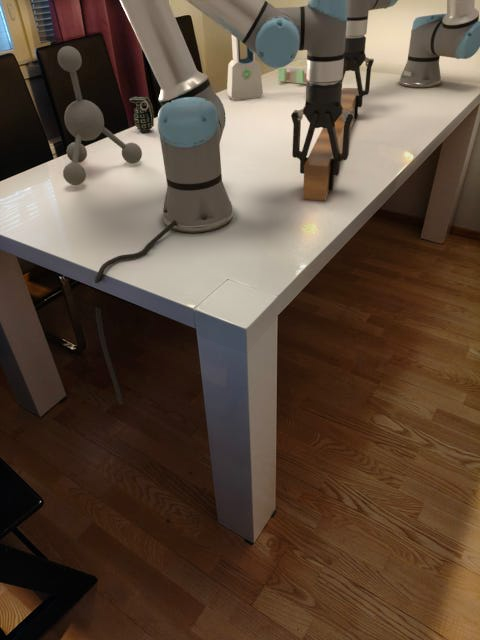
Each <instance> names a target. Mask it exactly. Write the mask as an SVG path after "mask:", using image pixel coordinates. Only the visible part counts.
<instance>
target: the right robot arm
mask: <svg viewBox="0 0 480 640" xmlns="http://www.w3.org/2000/svg"><path fill="white" fill-rule="evenodd" d="M398 1H399V0H347V20H348V21H347V28H346V40H345V51H344V66H343V78H342V79H341V80H340V81H341V83H342V84H343V82H344V78H345V75H346V72H350V71H352V72H354V75H355V82H356V88H358V95H357V97H356V105H355V116H354V120H357V119H358V116H359V115H358V114H359V108H362V106H363V100H364V99H363V98H364V96H368V95H369V94H370V87H371V86H370V85H371V76H372V75H371V74H372V67H373V64H374V61H375V60H374V58H369V57H367V55H366V44H367V43H366V41H367V37H366V35H367V31H368V22H369V12H370V11H375V10H380V9H381V10H383V9H385V10H386V9H387V8H391V7H393V6H395V5H396V4H397V3H398ZM475 3H476V0H446V13H437V14H429V15H421V16H418V17H416V18H415V19H414V20H413V22H412V27H411V30H410V37H409V39H410V40H409V47H408V54H407V60H406V63H405V65H404V68H403V70H402V72H401V75H400V77H399V84H400V85H401V86H404V87H409V88H434V87H437V86H439V85H440V84H441V80H442V76H441V69H440V68H441V67H440V57H445V58H450V59H451V58H452V59H455V60H467V59H471V58H472V57H473V56H474V55H475V54H476V53H477V52H478V51H479V49H480V20H479V19H480V12H479V10H478V9H477V8H476V7H475V5H476V4H475ZM364 62H365V66H366V71H365V83H364V89H363V82H362V76H361V75H362V74H361V66H362V65H363V63H364Z"/></svg>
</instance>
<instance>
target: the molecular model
mask: <svg viewBox="0 0 480 640" xmlns="http://www.w3.org/2000/svg"><path fill="white" fill-rule="evenodd" d="M82 59H83V58H82V56H81V52H79V50H78V49H77V48H75V47H73V46H71V45H64V46H62V47H61V48H60V49H59V50H58V52H57V62H58V64H59V66H60V67H61V69H63V70H64V71H66V72H67V73H68V72H69V75H70V79H71V84H72V87H73V92H74V96H75V100H74V101H72V102H71V103H70V104H69V105H67V107H66V109H65V111H64V117H63V118H64V120H63V121H64V126H65V127H66V129H67V131H68V132H69V134H70V135H71V136H72V137H74V141H73V142H71V143H70V144H68V145H67V147H66V157H68V159H69V160H70V161H71V162H69V163H68V164H66V165H65V166H64V168H63V170H62V175H63V179H64V180H65V181H66V182H67V183H68V184H70V185H72V186H79V185H82V184H83V183H84V182H85V181H86V179H87V171H86V169H85V168H84V166H83V165H81V164H80V163H82V162H84V161H85V160H86V159H87V156H88V151H87V148H86V146H85V145H84V144H82V141H84V142H89V141H94V140H96V139H97V138H98V137H100V135H101V134H103V135H104V136H106V137H107V138H108V139H109V140H111V141H112V142H113V143H115V144H116V145H117V146H118V147H119V148H121V157H122V158H123V160H124V161H125V162H126V163H128V164H130V165H131V164H137V163H139V162H140V161H141V159H142V158H143V151H142V148H141V146H140V145H139V144H137V143H135V142H128V143H124V141H122V140H121V139H120V138H119V137H117V136H116V135H115V134H114V133H113V132H111V131H110V130H109V129H107V128H106V127H105V119H104V115H103V112H102V111H101V109H100V108H99V106H98V105H96V104H95V103H94V102H92V101H90V100H87V99H83V95H82V91H81V87H80V82H79V78H78V74H77V71H78V70H80V69H81V67H82V62H83V60H82Z"/></svg>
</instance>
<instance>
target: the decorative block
mask: <svg viewBox="0 0 480 640" xmlns="http://www.w3.org/2000/svg"><path fill="white" fill-rule="evenodd" d="M277 70H278V71H277V73H278V74H277V76H278V77H277V79H278V82H285V83H286V82H287V83H292V84H293V83H296V84H304V85H306V84H307V82H309V81H308V80H307V79H306V70H307V57H306V58H303V59H302V58H299V59H297V60H295V61H294V60H293V61H292V62H291V63H289V64H288V65H286V66H284V67H281V68H277Z"/></svg>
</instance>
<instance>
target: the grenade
mask: <svg viewBox="0 0 480 640" xmlns="http://www.w3.org/2000/svg"><path fill="white" fill-rule="evenodd" d="M128 101H129V102H130V103H134V104H135V105H136V106H135V108H134V109H133V112H134V113H133V120H134V125H135V128H136V130H137V131H139V132H141V133H148V132H150V131H151V130H152V128H153V127H154V126H155V125H154V124H155V123H154V120H155V119H154V117H155V115H154V108H153V104H152V102H151V100H150V99H149V97H147V96H146V97H144V96H139V97H138V96H132V97H131V98H129V100H128Z"/></svg>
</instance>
